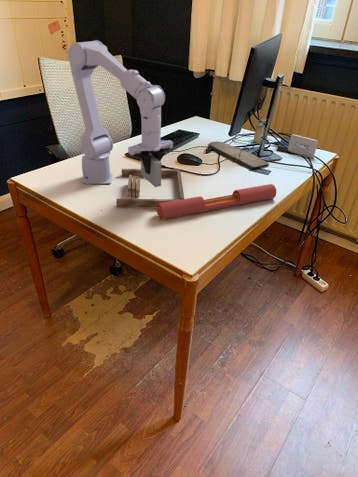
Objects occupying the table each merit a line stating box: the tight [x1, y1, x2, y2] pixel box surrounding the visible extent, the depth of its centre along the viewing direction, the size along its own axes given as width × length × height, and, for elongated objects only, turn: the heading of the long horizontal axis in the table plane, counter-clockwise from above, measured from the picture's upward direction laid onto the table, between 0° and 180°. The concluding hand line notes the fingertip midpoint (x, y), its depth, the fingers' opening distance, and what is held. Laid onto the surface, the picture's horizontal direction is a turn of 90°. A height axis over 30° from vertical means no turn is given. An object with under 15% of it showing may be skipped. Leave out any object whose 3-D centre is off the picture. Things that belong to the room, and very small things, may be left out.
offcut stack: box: [126, 175, 141, 198], centre depth 123 cm, size 4×10×4 cm, turn 4°
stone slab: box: [207, 141, 270, 171], centre depth 153 cm, size 10×3×30 cm
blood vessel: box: [156, 183, 277, 221], centre depth 116 cm, size 42×5×5 cm, turn 114°
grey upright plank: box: [140, 153, 162, 188], centre depth 114 cm, size 2×10×8 cm, turn 32°
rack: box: [115, 168, 185, 209], centre depth 123 cm, size 22×24×3 cm
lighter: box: [253, 118, 267, 143], centre depth 168 cm, size 7×4×10 cm, turn 135°
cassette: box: [287, 133, 319, 158], centre depth 157 cm, size 12×2×8 cm, turn 53°
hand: (151, 172), depth 114 cm, fingers closed on grey upright plank, 2 cm apart
